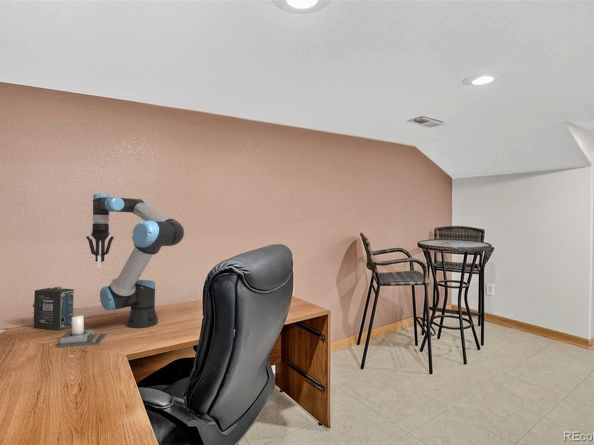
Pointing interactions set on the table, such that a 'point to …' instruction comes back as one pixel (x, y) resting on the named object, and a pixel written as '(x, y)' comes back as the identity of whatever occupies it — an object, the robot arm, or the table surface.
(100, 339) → the jig
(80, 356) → the table surface
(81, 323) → the white rounded cylinder
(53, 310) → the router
